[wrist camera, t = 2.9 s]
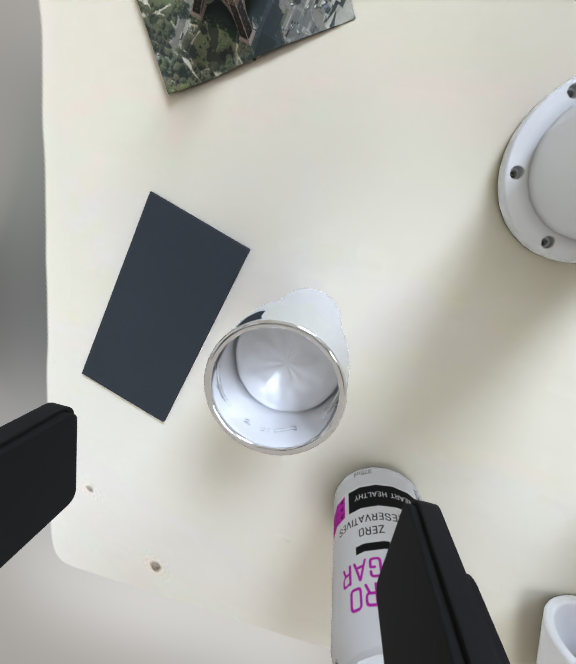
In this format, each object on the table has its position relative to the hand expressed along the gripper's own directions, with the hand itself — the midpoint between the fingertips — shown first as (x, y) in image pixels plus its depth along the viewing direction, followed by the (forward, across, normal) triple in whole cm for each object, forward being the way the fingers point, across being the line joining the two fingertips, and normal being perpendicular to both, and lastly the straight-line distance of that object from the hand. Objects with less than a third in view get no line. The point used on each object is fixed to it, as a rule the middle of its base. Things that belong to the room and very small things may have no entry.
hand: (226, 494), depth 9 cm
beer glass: (+21, 0, -1) cm, 21 cm away
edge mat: (+21, +14, +2) cm, 25 cm away
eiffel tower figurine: (+21, +10, -24) cm, 33 cm away
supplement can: (+21, -11, +16) cm, 28 cm away
